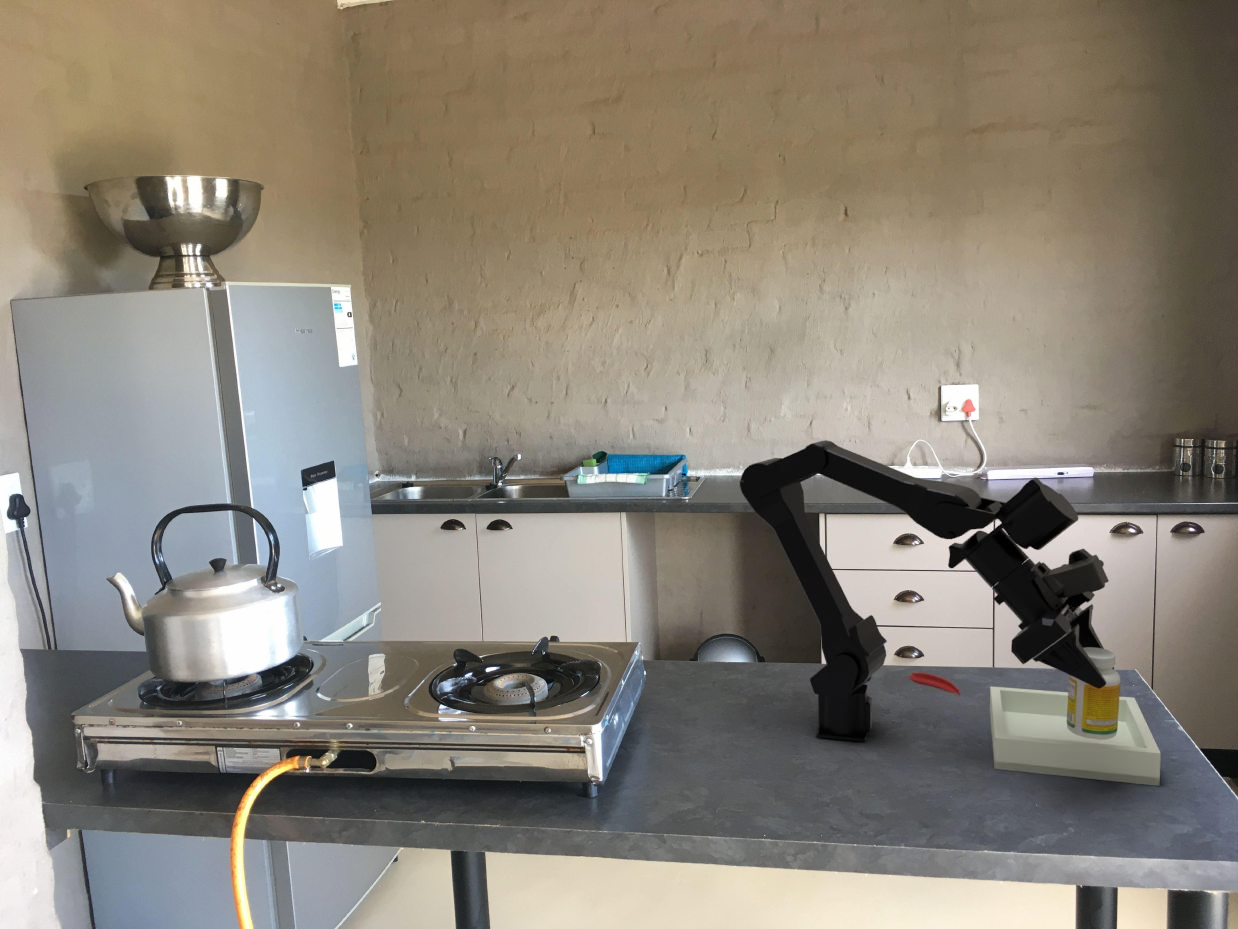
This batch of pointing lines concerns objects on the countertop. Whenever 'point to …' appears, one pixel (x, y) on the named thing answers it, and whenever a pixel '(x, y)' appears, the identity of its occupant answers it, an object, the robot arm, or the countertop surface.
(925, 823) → the countertop surface
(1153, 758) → the tray
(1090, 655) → the supplement bottle
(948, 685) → the cayenne pepper
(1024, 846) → the countertop surface
